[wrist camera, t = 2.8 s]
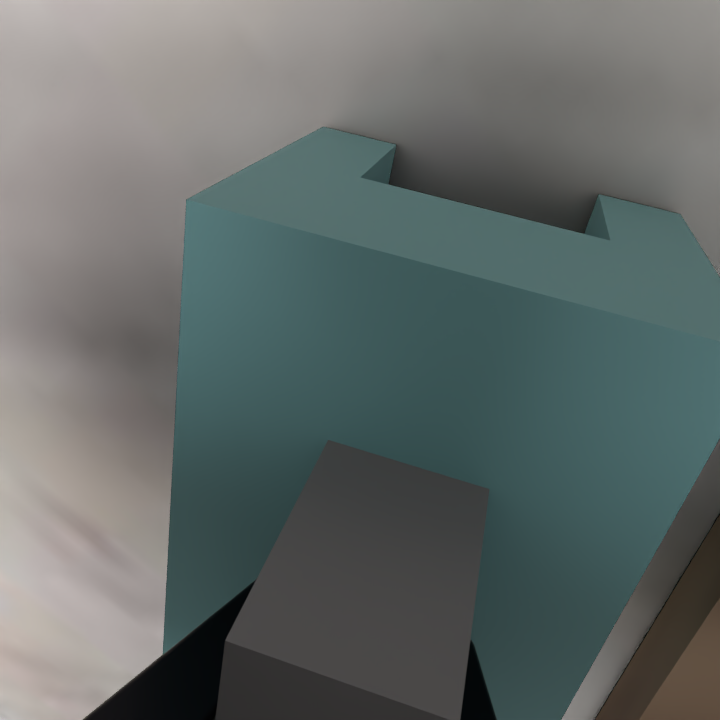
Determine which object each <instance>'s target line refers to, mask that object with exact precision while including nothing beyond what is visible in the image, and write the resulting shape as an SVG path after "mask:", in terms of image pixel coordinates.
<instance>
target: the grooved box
mask: <svg viewBox="0 0 720 720" xmlns="http://www.w3.org/2000/svg"><path fill="white" fill-rule="evenodd" d="M395 149H396V144H392V143H388V142H383V141H379V140H375V139H371V138H367V137H363V136H359V135H355V134H351V133H347V132H343V131H338V130H334V129H330V128H326V127H322V128H320V129H318V130H316V131H314V132H312V133H310V134H309V135H307V136H305V137H303V138H301V139H299V140H297V141H295V142H294V143H292V144H290V145H288V146H286V147H284V148H282V149H280V150H279V151H277V152H275V153H273V154H271V155H269V156H267V157H265V158H264V159H262V160H260V161H258V162H256V163H254V164H252V165H250V166H249V167H247V168H245V169H243V170H241V171H239V172H237V173H235V174H233V175H232V176H230V177H228V178H226V179H224V180H222V181H220V182H218V183H217V184H215V185H213V186H211V187H209V188H207V189H205V190H203V191H202V192H200V193H198V194H196V195H194V196H192V197H190V198H188V199H187V200H186V217H185V236H184V255H183V274H182V294H181V313H180V332H179V352H178V371H177V390H176V409H175V429H174V448H173V467H172V487H171V506H170V525H169V545H168V564H167V583H166V602H165V622H164V641H163V654H164V653H166V652H167V651H168V650H169V649H171V648H172V647H173V646H174V645H176V644H177V643H178V642H179V641H180V640H182V639H183V638H184V637H185V636H187V635H188V634H189V633H190V632H192V631H193V630H194V629H195V628H197V627H198V626H199V625H200V624H201V623H203V622H204V621H205V620H206V619H208V618H209V617H210V616H211V615H213V614H214V613H215V612H216V611H218V610H219V609H220V608H221V607H223V606H224V605H225V604H226V603H227V602H229V601H230V600H231V599H232V598H234V597H235V596H236V595H237V594H239V593H240V592H241V591H242V590H244V589H245V588H246V587H247V586H248V585H250V584H251V583H252V582H253V581H255V580H256V581H255V583H254V585H253V587H252V589H251V591H250V593H249V595H248V597H247V599H246V601H245V603H244V605H243V607H242V609H241V611H240V612H239V614H238V616H237V618H236V620H235V622H234V624H233V626H232V628H231V630H230V632H229V634H228V636H227V638H226V640H225V645H224V654H223V662H222V670H221V678H220V686H219V694H218V702H217V710H216V718H215V720H460V718H461V710H462V702H463V694H464V686H465V678H466V671H467V663H468V655H469V647H470V639H471V640H472V641H473V643H474V646H475V649H476V652H477V655H478V659H479V662H480V665H481V669H482V672H483V675H484V679H485V682H486V685H487V689H488V692H489V695H490V698H491V702H492V705H493V708H494V712H495V715H496V718H497V720H561V719H562V717H563V715H564V714H565V712H566V710H567V708H568V706H569V705H570V703H571V701H572V699H573V698H574V696H575V694H576V692H577V691H578V689H579V687H580V685H581V683H582V682H583V680H584V678H585V676H586V675H587V673H588V671H589V669H590V668H591V666H592V664H593V662H594V660H595V659H596V657H597V655H598V653H599V652H600V650H601V648H602V646H603V644H604V643H605V641H606V639H607V637H608V636H609V634H610V632H611V630H612V629H613V627H614V625H615V623H616V621H617V620H618V618H619V616H620V614H621V613H622V611H623V609H624V607H625V606H626V604H627V602H628V600H629V598H630V597H631V595H632V593H633V591H634V590H635V588H636V586H637V584H638V582H639V581H640V579H641V577H642V575H643V574H644V572H645V570H646V568H647V567H648V565H649V563H650V561H651V559H652V558H653V556H654V554H655V552H656V551H657V549H658V547H659V545H660V544H661V542H662V540H663V538H664V536H665V535H666V533H667V531H668V529H669V528H670V526H671V524H672V522H673V520H674V519H675V517H676V515H677V513H678V512H679V510H680V508H681V506H682V505H683V503H684V501H685V499H686V497H687V496H688V494H689V492H690V490H691V489H692V487H693V485H694V483H695V481H696V480H697V478H698V476H699V474H700V473H701V471H702V469H703V467H704V466H705V464H706V462H707V460H708V458H709V457H710V455H711V453H712V451H713V450H714V448H715V446H716V444H717V443H718V441H719V439H720V277H719V275H718V274H717V272H716V271H715V269H714V267H713V266H712V264H711V263H710V261H709V259H708V258H707V256H706V255H705V253H704V251H703V250H702V248H701V247H700V245H699V243H698V242H697V240H696V238H695V237H694V235H693V234H692V232H691V230H690V229H689V227H688V226H687V224H686V222H685V221H684V219H683V218H682V216H681V214H678V213H674V212H670V211H666V210H662V209H658V208H653V207H649V206H645V205H641V204H637V203H633V202H629V201H625V200H621V199H617V198H613V197H608V196H604V195H600V194H599V195H598V197H597V200H596V203H595V206H594V208H593V211H592V214H591V217H590V219H589V222H588V225H587V228H586V230H585V233H584V234H582V233H578V232H574V231H570V230H566V229H562V228H558V227H554V226H551V225H547V224H543V223H539V222H535V221H531V220H527V219H523V218H519V217H515V216H511V215H507V214H503V213H499V212H495V211H491V210H487V209H483V208H479V207H475V206H471V205H467V204H463V203H459V202H456V201H452V200H448V199H444V198H440V197H436V196H432V195H428V194H424V193H420V192H416V191H412V190H408V189H404V188H400V187H396V186H392V185H388V184H389V179H390V174H391V169H392V164H393V159H394V154H395Z"/></svg>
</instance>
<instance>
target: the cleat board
mask: <svg viewBox="0 0 720 720" xmlns="http://www.w3.org/2000/svg"><path fill="white" fill-rule="evenodd" d="M595 720H720V515H719V517H718V518H717V520H716V522H715V523H714V525H713V527H712V528H711V530H710V531H709V533H708V535H707V536H706V538H705V540H704V541H703V543H702V545H701V546H700V548H699V550H698V551H697V553H696V554H695V556H694V558H693V559H692V561H691V563H690V564H689V566H688V568H687V569H686V571H685V573H684V574H683V576H682V578H681V579H680V581H679V582H678V584H677V586H676V587H675V589H674V591H673V592H672V594H671V596H670V597H669V599H668V601H667V602H666V604H665V605H664V607H663V609H662V610H661V612H660V614H659V615H658V617H657V619H656V620H655V622H654V624H653V625H652V627H651V629H650V630H649V632H648V633H647V635H646V637H645V638H644V640H643V642H642V643H641V645H640V647H639V648H638V650H637V652H636V653H635V655H634V656H633V658H632V660H631V661H630V663H629V665H628V666H627V668H626V670H625V671H624V673H623V675H622V676H621V678H620V680H619V681H618V683H617V684H616V686H615V688H614V689H613V691H612V693H611V694H610V696H609V698H608V699H607V701H606V703H605V704H604V706H603V707H602V709H601V711H600V712H599V714H598V716H597V717H596V719H595Z"/></svg>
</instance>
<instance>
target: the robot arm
mask: <svg viewBox="0 0 720 720" xmlns="http://www.w3.org/2000/svg"><path fill="white" fill-rule="evenodd" d="M255 581H256V580H255ZM255 581H253V582H252V583H251V584H250V585H248V586H247V587H246V588H245V589H244V590H242V591H241V592H240V593H239V594H237V595H236V596H235V597H234V598H232V599H231V600H230V601H229V602H227V603H226V604H225V605H224V606H223V607H221V608H220V609H219V610H218V611H216V612H215V613H214V614H213V615H211V616H210V617H209V618H208V619H206V620H205V621H204V622H203V623H201V624H200V625H199V626H198V627H197V628H195V629H194V630H193V631H192V632H190V633H189V634H188V635H187V636H185V637H184V638H183V639H182V640H180V641H179V642H178V643H177V644H176V645H174V646H173V647H172V648H171V649H169V650H168V651H167V652H166V653H164V654H163V655H162V656H161V657H159V658H158V659H157V660H156V661H154V662H153V663H152V664H151V665H150V666H148V667H147V668H146V669H145V670H143V671H142V672H141V673H140V674H138V675H137V676H136V677H135V678H133V679H132V680H131V681H130V682H129V683H127V684H126V685H125V686H124V687H122V688H121V689H120V690H119V691H117V692H116V693H115V694H114V695H112V696H111V697H110V698H109V699H107V700H106V701H105V702H104V703H103V704H101V705H100V706H99V707H98V708H96V709H95V710H94V711H93V712H91V713H90V714H89V715H88V716H86V717H85V718H84V719H83V720H215V718H216V710H217V702H218V694H219V686H220V678H221V670H222V662H223V654H224V645H225V640H226V638H227V636H228V634H229V632H230V630H231V628H232V626H233V624H234V622H235V620H236V618H237V616H238V614H239V612H240V611H241V609H242V607H243V605H244V603H245V601H246V599H247V597H248V595H249V593H250V591H251V589H252V587H253V585H254V583H255ZM460 720H497V718H496V715H495V712H494V708H493V705H492V702H491V698H490V695H489V692H488V689H487V685H486V682H485V679H484V675H483V672H482V669H481V665H480V662H479V659H478V655H477V652H476V649H475V646H474V643H473V641H472V640H471V639H470V647H469V655H468V663H467V671H466V678H465V686H464V694H463V702H462V710H461V718H460Z"/></svg>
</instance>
